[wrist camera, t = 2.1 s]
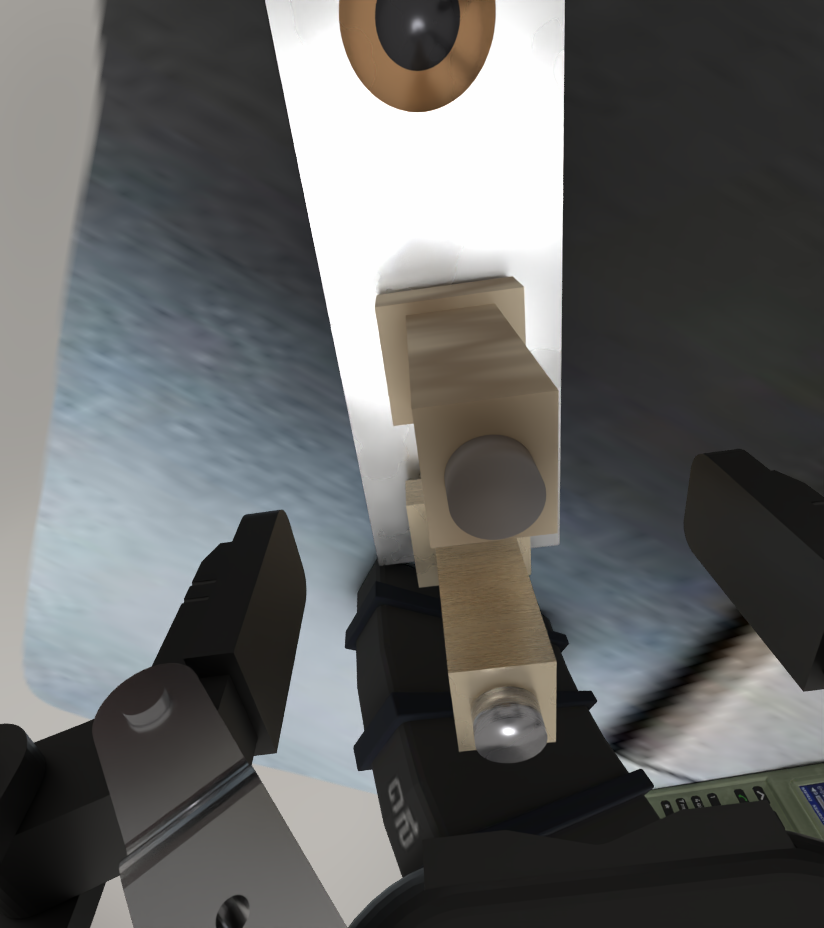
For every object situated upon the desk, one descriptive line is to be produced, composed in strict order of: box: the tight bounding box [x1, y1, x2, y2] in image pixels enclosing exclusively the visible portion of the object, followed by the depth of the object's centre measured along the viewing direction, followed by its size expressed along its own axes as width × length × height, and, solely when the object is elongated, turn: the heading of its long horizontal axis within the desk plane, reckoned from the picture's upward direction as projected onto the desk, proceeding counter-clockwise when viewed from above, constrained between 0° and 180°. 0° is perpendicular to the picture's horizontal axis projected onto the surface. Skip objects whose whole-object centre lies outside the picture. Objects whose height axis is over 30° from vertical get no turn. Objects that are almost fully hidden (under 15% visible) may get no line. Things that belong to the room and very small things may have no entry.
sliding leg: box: [374, 276, 559, 548], centre depth 16 cm, size 5×4×12 cm
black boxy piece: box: [345, 559, 660, 877], centre depth 25 cm, size 4×13×15 cm, turn 64°
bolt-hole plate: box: [265, 0, 565, 763], centre depth 15 cm, size 9×28×13 cm, turn 7°
